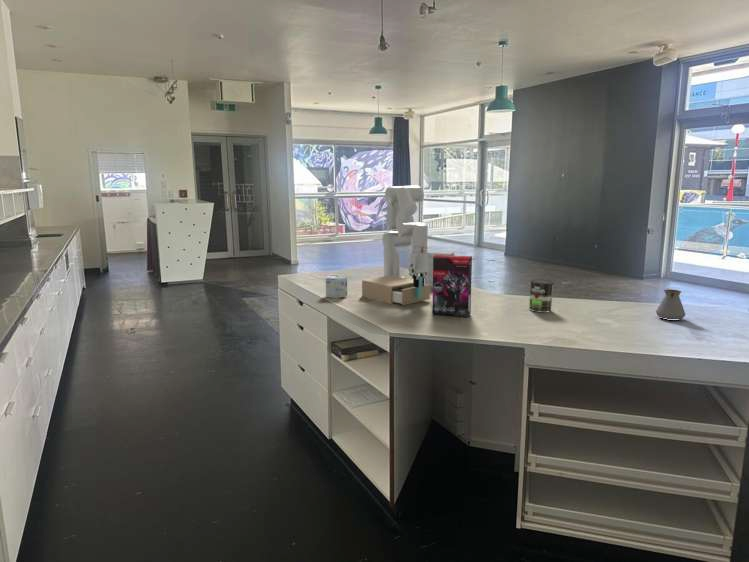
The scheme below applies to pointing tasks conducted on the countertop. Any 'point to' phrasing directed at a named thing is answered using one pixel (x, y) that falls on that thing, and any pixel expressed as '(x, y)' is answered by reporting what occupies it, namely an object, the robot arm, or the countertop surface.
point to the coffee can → (541, 295)
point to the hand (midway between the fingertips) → (418, 286)
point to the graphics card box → (452, 285)
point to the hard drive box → (430, 274)
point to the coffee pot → (671, 306)
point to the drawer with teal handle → (411, 293)
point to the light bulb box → (336, 286)
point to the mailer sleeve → (382, 287)
